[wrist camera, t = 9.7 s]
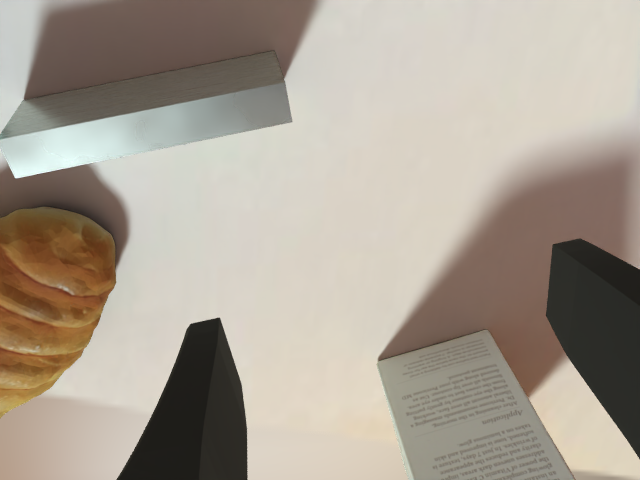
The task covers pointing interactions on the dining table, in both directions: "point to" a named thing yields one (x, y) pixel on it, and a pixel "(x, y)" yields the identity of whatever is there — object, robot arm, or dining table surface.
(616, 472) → the dining table surface
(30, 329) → the pastry
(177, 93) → the metal brackets
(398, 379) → the small box
